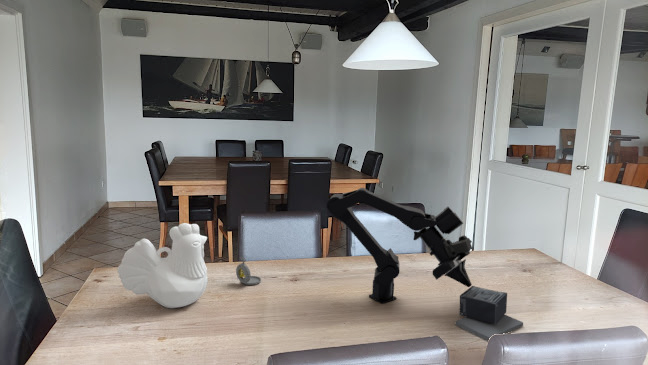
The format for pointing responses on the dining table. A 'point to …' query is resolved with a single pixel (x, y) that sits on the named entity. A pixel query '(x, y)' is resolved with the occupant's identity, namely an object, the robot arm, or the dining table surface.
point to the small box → (483, 304)
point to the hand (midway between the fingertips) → (470, 286)
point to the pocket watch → (246, 274)
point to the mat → (489, 326)
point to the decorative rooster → (167, 268)
